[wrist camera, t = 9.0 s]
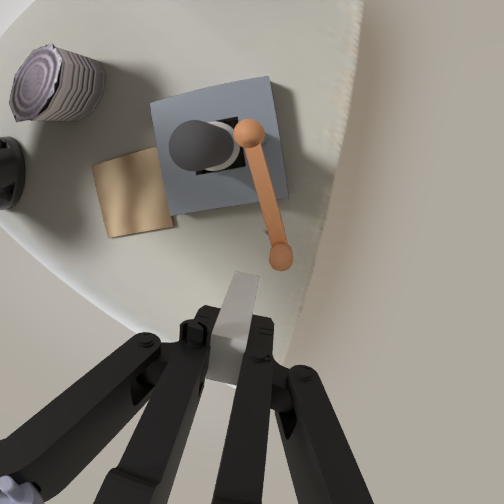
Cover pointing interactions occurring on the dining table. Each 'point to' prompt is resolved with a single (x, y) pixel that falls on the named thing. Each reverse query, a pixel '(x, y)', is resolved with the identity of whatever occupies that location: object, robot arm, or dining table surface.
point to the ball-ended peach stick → (264, 191)
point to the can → (56, 86)
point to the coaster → (132, 193)
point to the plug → (203, 146)
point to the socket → (221, 110)
